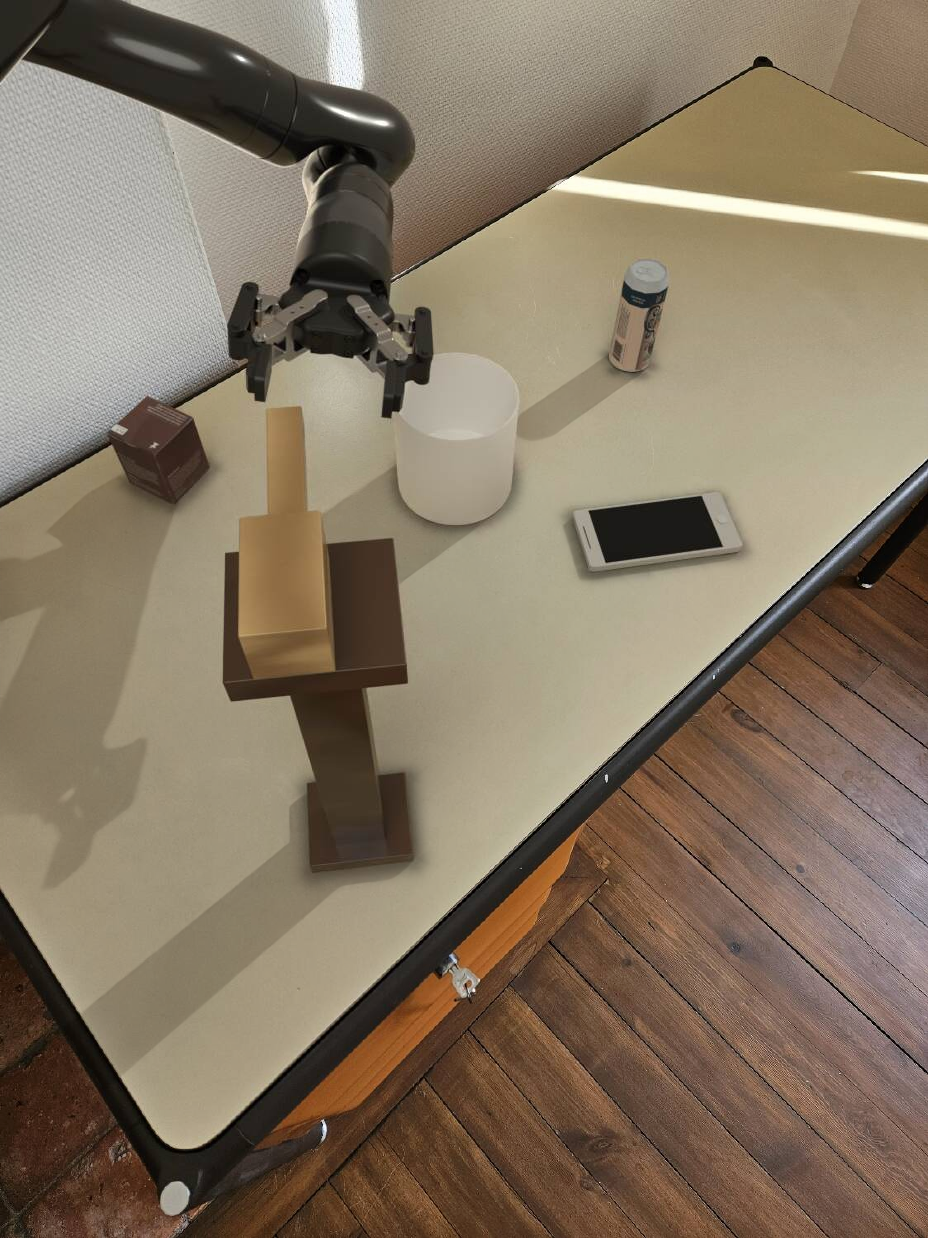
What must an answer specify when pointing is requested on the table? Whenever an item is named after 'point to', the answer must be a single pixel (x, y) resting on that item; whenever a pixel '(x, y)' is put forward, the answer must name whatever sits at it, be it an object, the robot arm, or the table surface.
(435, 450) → the cup
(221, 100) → the robot arm
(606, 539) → the smartphone
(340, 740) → the stand
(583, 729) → the table surface
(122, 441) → the box
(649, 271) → the beer can
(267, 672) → the wooden block
